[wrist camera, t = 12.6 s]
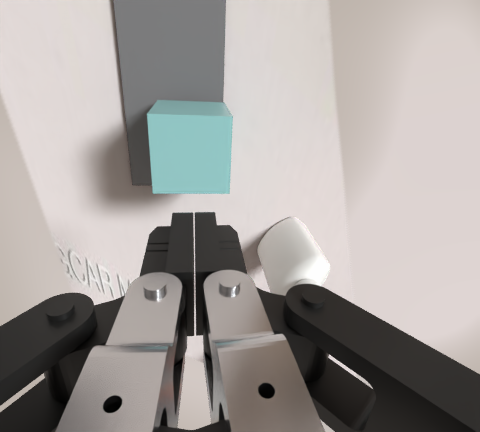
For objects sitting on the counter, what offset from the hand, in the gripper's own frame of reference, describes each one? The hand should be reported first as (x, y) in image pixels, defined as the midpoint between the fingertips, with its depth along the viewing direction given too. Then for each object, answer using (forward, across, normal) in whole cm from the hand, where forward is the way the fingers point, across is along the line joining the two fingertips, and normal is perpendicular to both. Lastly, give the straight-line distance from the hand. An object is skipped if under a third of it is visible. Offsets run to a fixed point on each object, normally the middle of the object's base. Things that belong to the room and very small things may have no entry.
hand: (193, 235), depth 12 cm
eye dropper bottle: (+18, -9, +11) cm, 23 cm away
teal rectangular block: (+17, 0, 0) cm, 17 cm away
